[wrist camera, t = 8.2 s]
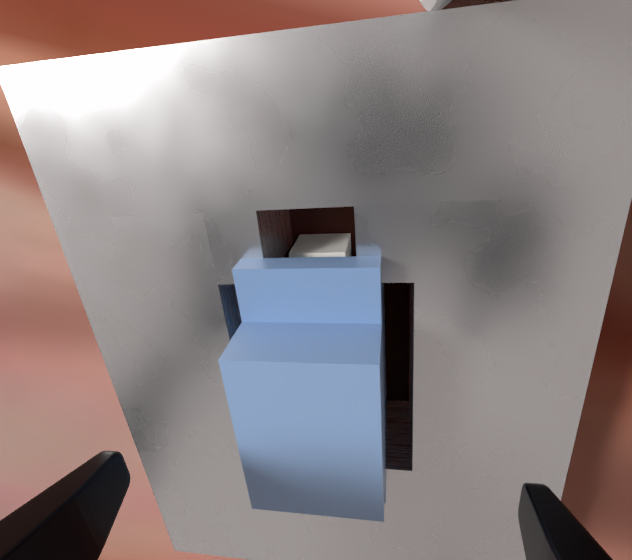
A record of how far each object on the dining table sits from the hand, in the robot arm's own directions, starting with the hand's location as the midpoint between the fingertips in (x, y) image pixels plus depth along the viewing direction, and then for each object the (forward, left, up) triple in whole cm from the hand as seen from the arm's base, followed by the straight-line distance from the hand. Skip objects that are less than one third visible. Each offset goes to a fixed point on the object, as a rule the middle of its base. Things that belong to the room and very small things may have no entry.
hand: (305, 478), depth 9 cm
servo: (0, 0, -6) cm, 6 cm away
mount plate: (0, 0, -6) cm, 7 cm away
